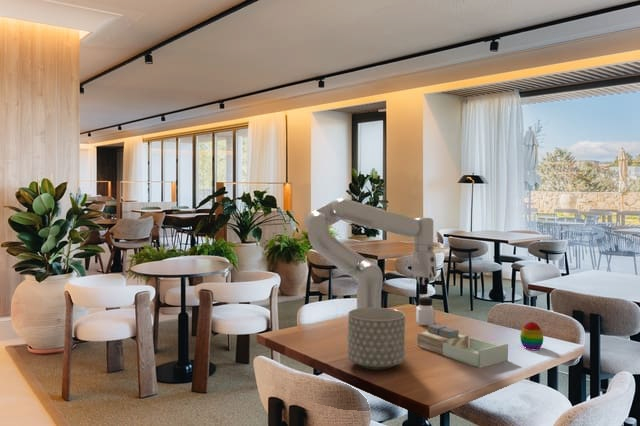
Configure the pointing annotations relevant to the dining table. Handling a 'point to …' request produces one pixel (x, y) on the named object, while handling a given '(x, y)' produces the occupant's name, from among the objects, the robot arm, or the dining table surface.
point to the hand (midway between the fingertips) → (423, 294)
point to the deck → (441, 341)
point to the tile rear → (435, 328)
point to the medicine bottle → (425, 312)
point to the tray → (478, 353)
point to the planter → (376, 337)
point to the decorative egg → (531, 336)
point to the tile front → (448, 332)
